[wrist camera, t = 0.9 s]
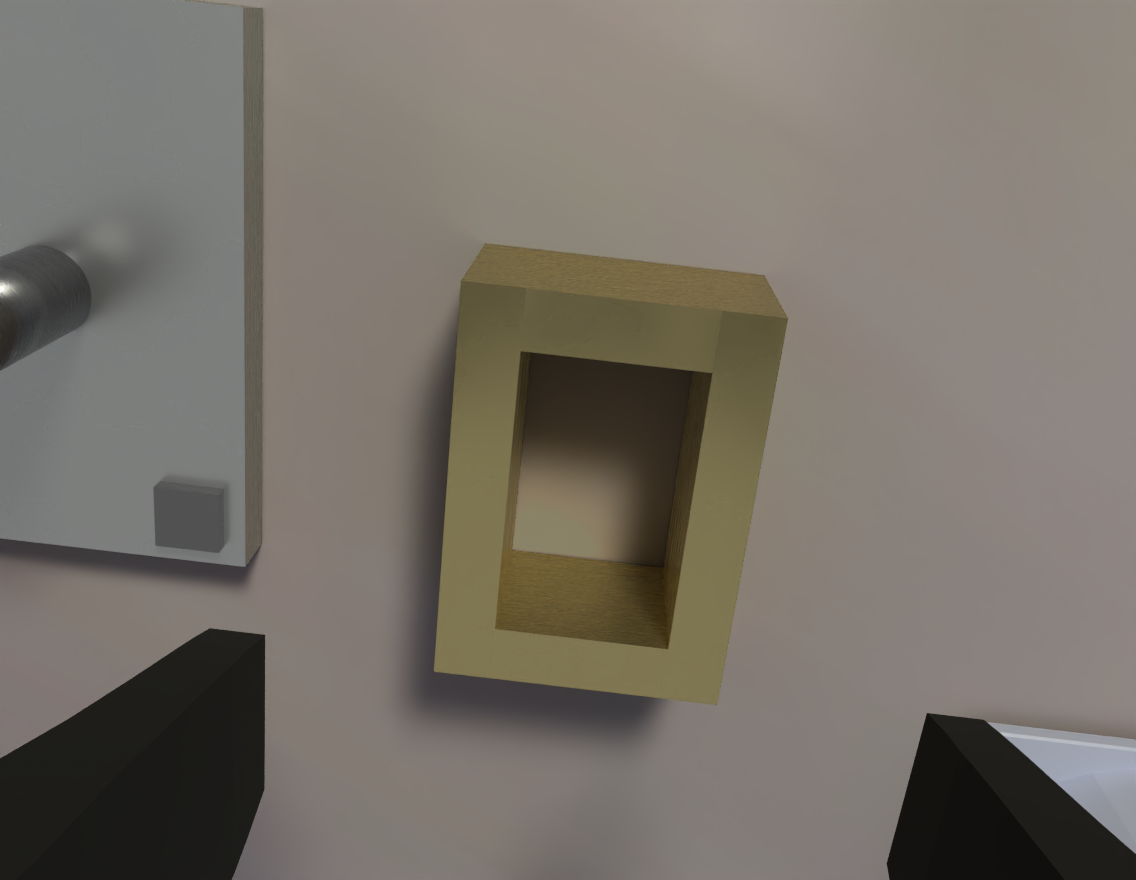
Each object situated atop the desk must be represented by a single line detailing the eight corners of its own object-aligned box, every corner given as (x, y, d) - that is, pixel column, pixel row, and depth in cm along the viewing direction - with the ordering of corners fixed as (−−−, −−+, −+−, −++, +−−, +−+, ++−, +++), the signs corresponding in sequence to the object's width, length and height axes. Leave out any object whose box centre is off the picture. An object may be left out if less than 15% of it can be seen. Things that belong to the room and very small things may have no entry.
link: (705, 617, 22) (717, 704, 19) (458, 588, 22) (434, 671, 19) (764, 275, 19) (788, 318, 16) (485, 243, 19) (460, 281, 16)
